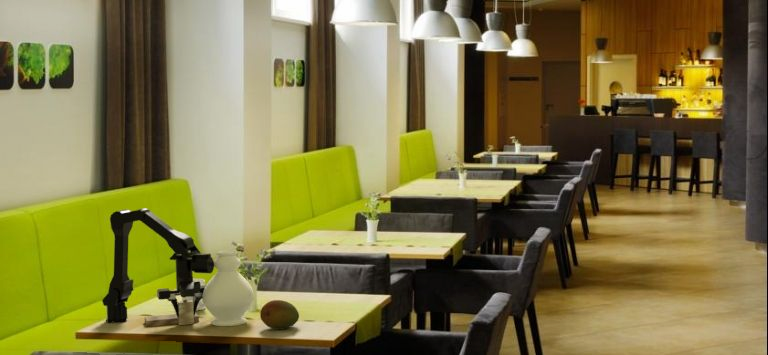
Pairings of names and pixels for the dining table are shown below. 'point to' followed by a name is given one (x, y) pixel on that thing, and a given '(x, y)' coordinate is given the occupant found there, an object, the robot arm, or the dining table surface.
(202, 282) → the mug
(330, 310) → the dining table surface
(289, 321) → the fruit
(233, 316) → the decorative vase
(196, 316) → the board
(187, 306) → the beige box with knob
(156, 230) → the robot arm
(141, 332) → the dining table surface
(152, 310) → the dining table surface
